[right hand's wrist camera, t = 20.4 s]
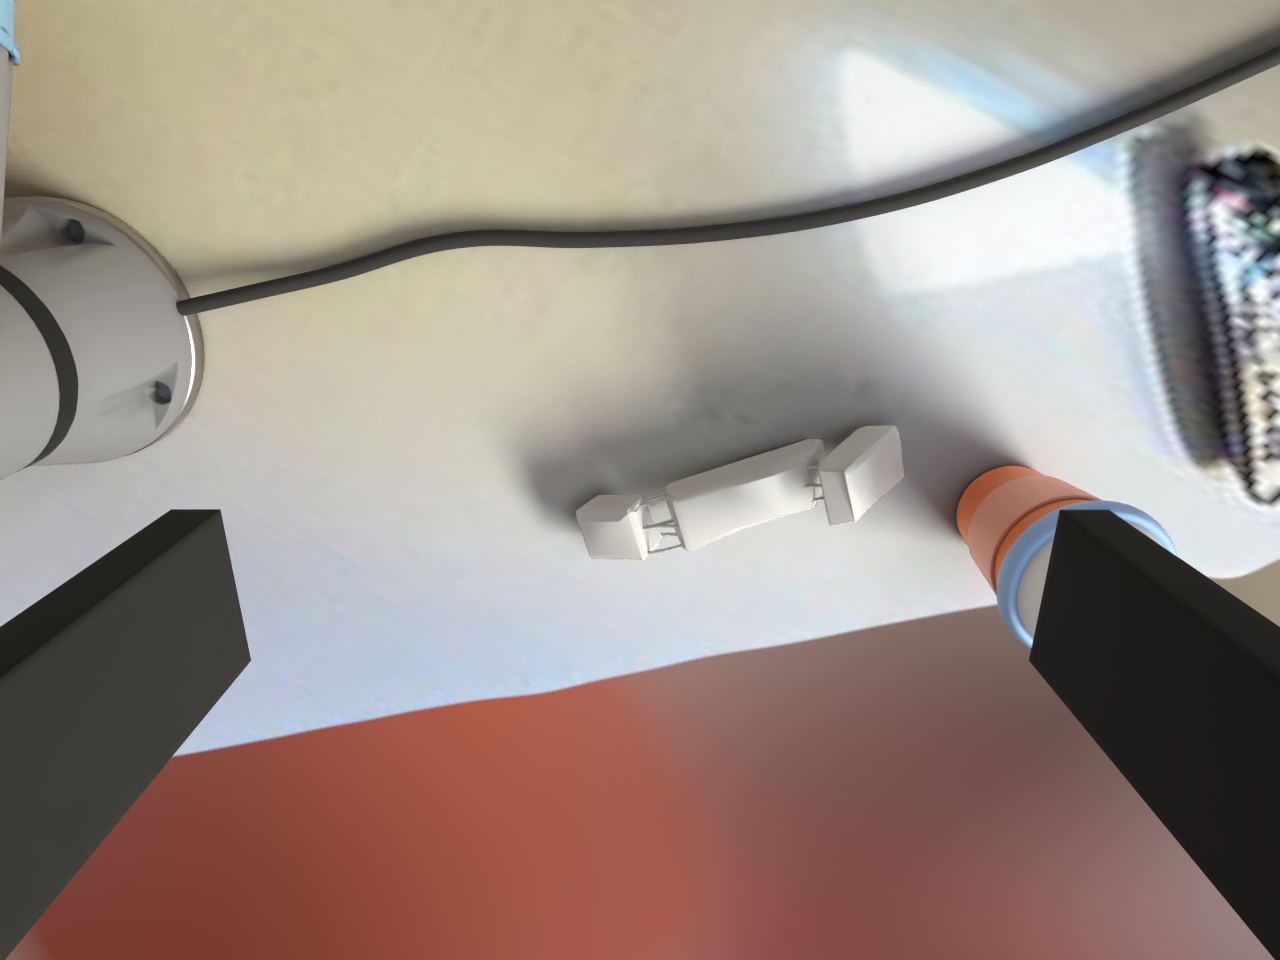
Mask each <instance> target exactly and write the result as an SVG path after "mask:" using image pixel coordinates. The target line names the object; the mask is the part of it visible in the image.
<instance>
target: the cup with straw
mask: <svg viewBox="0 0 1280 960" xmlns="http://www.w3.org/2000/svg"><path fill="white" fill-rule="evenodd" d="M1060 510H1110V511H1112V512H1113V513H1114V514H1116V515H1117V516H1119V517H1120V518H1122V519H1123V520H1125V521H1126V522H1128V523H1129V524H1130V525H1132V526H1133V527H1135V528H1136V529H1138V530H1139V531H1141V532H1142V533H1144V534H1145V535H1146V536H1148V537H1149V538H1151V539H1152V540H1154V541H1155V542H1157V543H1158V544H1160V545H1161V546H1162V547H1164V548H1165V549H1167V550H1168V551H1170V552H1171V553H1173V554H1174V555H1176V556H1177V557H1178V555H1177V551H1176V549H1175V546H1174V544H1173V542H1172V540H1171V538H1170V536H1169V535H1168V534H1167V532H1166V531H1165V529H1164V528H1163V527H1162V526H1161V525H1160V524H1159V523H1158V522H1157V521H1156V520H1155V519H1153V518H1152V517H1151V516H1149V515H1148V514H1146V513H1145V512H1143V511H1141V510H1139V509H1137V508H1135V507H1132V506H1129V505H1126V504H1123V503H1119V502H1113V501H1103V500H1101V499H1099V498H1097V497H1095V496H1093V495H1090V494H1088V493H1086V492H1084V491H1082V490H1080V489H1078V488H1076V487H1074V486H1072V485H1070V484H1068V483H1066V482H1064V481H1062V480H1059V479H1057V478H1053V477H1050V476H1045V475H1043V474H1040V473H1038V472H1036V471H1034V470H1032V469H1029V468H1026V467H1022V466H1003V467H998V468H995V469H992V470H990V471H988V472H986V473H984V474H982V475H980V476H979V477H978V478H976V479H975V480H974V481H973V482H972V483H971V484H970V485H969V486H968V487H967V489H966V490H965V491H964V493H963V495H962V497H961V499H960V501H959V504H958V508H957V524H958V528H959V531H960V533H961V535H962V537H963V539H964V540H965V542H966V543H967V545H968V546H969V550H970V553H971V556H972V558H973V560H974V561H975V563H976V564H977V566H978V568H979V569H980V571H981V572H982V574H983V575H984V577H985V578H986V580H987V582H988V583H989V585H990V586H991V588H992V589H993V591H994V592H995V594H996V595H997V603H998V607H999V610H1000V613H1001V616H1002V618H1003V620H1004V622H1005V623H1006V625H1007V627H1008V628H1009V630H1010V631H1011V632H1012V633H1013V634H1014V635H1015V636H1016V637H1017V638H1018V639H1019V640H1020V641H1021V642H1022V643H1024V644H1025V645H1026V646H1028V647H1029V648H1032V643H1033V639H1034V634H1035V629H1036V624H1037V619H1038V614H1039V609H1040V604H1041V599H1042V594H1043V589H1044V584H1045V579H1046V575H1047V570H1048V565H1049V560H1050V555H1051V550H1052V545H1053V540H1054V535H1055V530H1056V525H1057V520H1058V516H1059V511H1060Z"/></svg>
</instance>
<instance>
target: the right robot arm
mask: <svg viewBox="0 0 1280 960" xmlns="http://www.w3.org/2000/svg"><path fill="white" fill-rule="evenodd" d="M14 22H15V0H0V480H1V479H3V478H5V477H7V476H9V475H11V474H13V473H15V472H17V471H20V470H22V469H24V468H26V467H29V466H41V465H64V464H87V463H98V462H104V461H109V460H113V459H116V458H120V457H123V456H127V455H130V454H132V453H135V452H138V451H140V450H142V449H144V448H146V447H147V446H149V445H151V444H153V443H155V442H157V441H159V440H161V439H162V438H163V437H165V436H166V435H168V434H169V433H170V432H171V431H173V430H174V429H175V428H176V427H177V426H178V425H179V424H180V423H181V422H182V421H183V419H184V418H185V417H186V415H187V414H188V412H189V411H190V409H191V407H192V406H193V404H194V402H195V400H196V397H197V395H198V392H199V389H200V385H201V382H202V377H203V370H204V343H203V337H202V331H201V327H200V323H199V319H198V316H197V313H199V312H204V311H208V310H212V309H217V308H221V307H226V306H230V305H234V304H239V303H243V302H247V301H252V300H256V299H261V298H265V297H270V296H274V295H279V294H283V293H288V292H292V291H297V290H301V289H306V288H310V287H314V286H318V285H323V284H327V283H331V282H335V281H339V280H342V279H346V278H349V277H353V276H356V275H360V274H363V273H366V272H369V271H372V270H375V269H378V268H381V267H384V266H387V265H390V264H393V263H396V262H399V261H403V260H406V259H409V258H413V257H416V256H420V255H424V254H429V253H433V252H438V251H443V250H449V249H456V248H464V247H475V246H532V247H554V248H598V247H630V246H655V245H674V244H688V243H701V242H711V241H721V240H731V239H740V238H749V237H757V236H765V235H773V234H780V233H787V232H794V231H800V230H806V229H812V228H817V227H823V226H828V225H833V224H838V223H843V222H848V221H853V220H857V219H862V218H866V217H871V216H875V215H880V214H884V213H888V212H892V211H896V210H900V209H904V208H908V207H912V206H916V205H920V204H923V203H927V202H930V201H934V200H937V199H941V198H944V197H947V196H951V195H954V194H957V193H960V192H963V191H967V190H970V189H973V188H976V187H979V186H982V185H985V184H988V183H991V182H994V181H997V180H1000V179H1003V178H1006V177H1009V176H1012V175H1015V174H1018V173H1021V172H1024V171H1026V170H1029V169H1032V168H1035V167H1037V166H1040V165H1043V164H1046V163H1048V162H1051V161H1054V160H1056V159H1059V158H1061V157H1064V156H1067V155H1069V154H1072V153H1074V152H1077V151H1079V150H1082V149H1084V148H1087V147H1089V146H1091V145H1094V144H1096V143H1099V142H1101V141H1104V140H1106V139H1109V138H1111V137H1113V136H1116V135H1118V134H1121V133H1123V132H1125V131H1128V130H1130V129H1133V128H1135V127H1138V126H1140V125H1142V124H1145V123H1147V122H1150V121H1152V120H1154V119H1157V118H1159V117H1161V116H1164V115H1166V114H1168V113H1171V112H1173V111H1175V110H1178V109H1180V108H1182V107H1185V106H1187V105H1189V104H1191V103H1194V102H1196V101H1198V100H1200V99H1203V98H1205V97H1207V96H1209V95H1212V94H1214V93H1216V92H1218V91H1220V90H1223V89H1225V88H1227V87H1229V86H1232V85H1234V84H1236V83H1238V82H1240V81H1243V80H1245V79H1247V78H1249V77H1252V76H1254V75H1256V74H1258V73H1260V72H1263V71H1265V70H1267V69H1270V68H1272V67H1274V66H1276V65H1279V64H1280V47H1277V48H1275V49H1273V50H1270V51H1268V52H1266V53H1264V54H1261V55H1259V56H1257V57H1255V58H1253V59H1250V60H1248V61H1246V62H1244V63H1241V64H1239V65H1237V66H1235V67H1233V68H1230V69H1228V70H1226V71H1224V72H1222V73H1219V74H1217V75H1215V76H1213V77H1211V78H1208V79H1206V80H1204V81H1202V82H1200V83H1197V84H1195V85H1193V86H1191V87H1188V88H1186V89H1184V90H1182V91H1179V92H1177V93H1175V94H1173V95H1170V96H1168V97H1166V98H1163V99H1161V100H1159V101H1156V102H1154V103H1152V104H1149V105H1147V106H1145V107H1142V108H1140V109H1137V110H1135V111H1133V112H1130V113H1128V114H1125V115H1123V116H1121V117H1118V118H1116V119H1113V120H1111V121H1109V122H1106V123H1104V124H1101V125H1099V126H1096V127H1094V128H1092V129H1089V130H1087V131H1084V132H1082V133H1079V134H1077V135H1074V136H1072V137H1069V138H1067V139H1064V140H1062V141H1059V142H1057V143H1054V144H1052V145H1049V146H1046V147H1044V148H1041V149H1038V150H1036V151H1033V152H1030V153H1027V154H1025V155H1022V156H1019V157H1016V158H1013V159H1010V160H1008V161H1005V162H1002V163H999V164H996V165H993V166H990V167H987V168H984V169H981V170H978V171H975V172H972V173H969V174H965V175H962V176H959V177H956V178H953V179H950V180H946V181H943V182H940V183H936V184H933V185H930V186H926V187H922V188H919V189H915V190H911V191H908V192H904V193H900V194H896V195H892V196H888V197H884V198H879V199H875V200H871V201H866V202H862V203H857V204H853V205H848V206H843V207H839V208H834V209H829V210H824V211H818V212H813V213H807V214H801V215H795V216H789V217H782V218H775V219H767V220H759V221H751V222H743V223H734V224H724V225H715V226H704V227H693V228H680V229H663V230H641V231H611V232H543V231H522V230H479V231H466V232H458V233H450V234H444V235H438V236H433V237H428V238H423V239H419V240H415V241H412V242H408V243H404V244H401V245H398V246H395V247H392V248H388V249H385V250H382V251H379V252H376V253H373V254H370V255H367V256H364V257H361V258H358V259H355V260H352V261H348V262H345V263H342V264H338V265H334V266H331V267H327V268H323V269H319V270H314V271H310V272H306V273H302V274H297V275H293V276H288V277H284V278H279V279H274V280H270V281H265V282H261V283H256V284H252V285H248V286H243V287H239V288H234V289H230V290H226V291H221V292H217V293H213V294H208V295H204V296H199V297H195V298H190V296H189V294H188V292H187V290H186V289H185V287H184V285H183V283H182V281H181V280H180V278H179V277H178V275H177V274H176V272H175V271H174V270H173V268H172V267H171V266H170V264H169V263H168V262H167V261H166V259H165V258H164V257H163V256H162V255H161V254H160V253H159V252H158V251H157V250H156V249H155V247H154V246H152V245H151V244H150V243H149V242H148V241H147V240H146V239H145V238H144V237H143V236H141V235H140V234H139V233H137V232H136V231H135V230H133V229H132V228H131V227H129V226H128V225H126V224H125V223H123V222H122V221H120V220H119V219H117V218H115V217H113V216H111V215H109V214H108V213H106V212H103V211H101V210H99V209H97V208H94V207H92V206H89V205H86V204H83V203H80V202H77V201H72V200H68V199H64V198H57V197H46V196H20V197H7V198H4V188H5V174H6V159H7V145H8V130H9V116H10V101H11V87H12V72H13V65H16V66H18V65H19V64H20V57H21V55H20V49H19V47H18V45H17V44H16V42H15V41H14ZM250 661H251V658H250V653H249V648H248V643H247V639H246V634H245V629H244V624H243V619H242V614H241V609H240V604H239V599H238V594H237V589H236V584H235V579H234V575H233V570H232V565H231V560H230V555H229V550H228V545H227V540H226V535H225V530H224V525H223V520H222V516H221V511H220V510H170V511H168V512H167V513H166V514H164V515H163V516H161V517H160V518H158V519H157V520H155V521H154V522H152V523H151V524H150V525H148V526H147V527H145V528H144V529H142V530H141V531H139V532H138V533H136V534H135V535H134V536H132V537H131V538H129V539H128V540H126V541H125V542H123V543H122V544H120V545H119V546H118V547H116V548H115V549H113V550H112V551H110V552H109V553H107V554H106V555H104V556H103V557H102V558H100V559H99V560H97V561H96V562H94V563H93V564H91V565H90V566H88V567H87V568H86V569H84V570H83V571H81V572H80V573H78V574H77V575H75V576H74V577H72V578H71V579H70V580H68V581H67V582H65V583H64V584H62V585H61V586H59V587H58V588H56V589H55V590H54V591H52V592H51V593H49V594H48V595H46V596H45V597H43V598H42V599H40V600H39V601H38V602H36V603H35V604H33V605H32V606H30V607H29V608H27V609H26V610H24V611H23V612H22V613H20V614H19V615H17V616H16V617H14V618H13V619H11V620H10V621H8V622H7V623H5V624H4V625H3V626H1V627H0V960H5V959H6V958H7V957H8V955H9V954H10V953H11V952H12V950H13V949H14V948H15V947H16V946H17V944H18V943H19V942H20V941H21V940H22V938H23V937H24V936H25V935H26V933H27V932H28V931H29V930H30V929H31V927H32V926H33V925H34V924H35V922H36V921H37V920H38V919H39V918H40V916H41V915H42V914H43V913H44V912H45V910H46V909H47V908H48V907H49V905H50V904H51V903H52V902H53V901H54V899H55V898H56V897H57V896H58V895H59V893H60V892H61V891H62V890H63V888H64V887H65V886H66V885H67V884H68V882H69V881H70V880H71V879H72V877H73V876H74V875H75V874H76V873H77V871H78V870H79V869H80V868H81V867H82V865H83V864H84V863H85V862H86V860H87V859H88V858H89V857H90V856H91V854H92V853H93V852H94V851H95V850H96V848H97V847H98V846H99V845H100V843H101V842H102V841H103V840H104V839H105V837H106V836H107V835H108V834H109V833H110V831H111V830H112V829H113V828H114V826H115V825H116V824H117V823H118V822H119V820H120V819H121V818H122V817H123V815H124V814H125V813H126V812H127V811H128V809H129V808H130V807H131V806H132V805H133V803H134V802H135V801H136V800H137V798H138V797H139V796H140V795H141V794H142V792H143V791H144V790H145V789H146V788H147V786H148V785H149V784H150V783H151V781H152V780H153V779H154V778H155V777H156V775H157V774H158V773H159V772H160V770H161V769H162V768H163V767H164V766H165V764H166V763H167V762H168V761H169V760H170V758H171V757H172V756H173V755H174V753H175V752H176V751H177V750H178V749H179V747H180V746H181V745H182V744H183V743H184V741H185V740H186V739H187V738H188V736H189V735H190V734H191V733H192V732H193V730H194V729H195V728H196V727H197V726H198V724H199V723H200V722H201V721H202V719H203V718H204V717H205V716H206V715H207V713H208V712H209V711H210V710H211V708H212V707H213V706H214V705H215V704H216V702H217V701H218V700H219V699H220V698H221V696H222V695H223V694H224V693H225V691H226V690H227V689H228V688H229V687H230V685H231V684H232V683H233V682H234V681H235V679H236V678H237V677H238V676H239V674H240V673H241V672H242V671H243V670H244V668H245V667H246V666H247V665H248V663H249V662H250ZM1029 661H1030V662H1031V663H1032V665H1033V666H1034V667H1035V668H1036V670H1037V671H1038V672H1039V673H1040V674H1041V676H1042V677H1043V678H1044V679H1045V681H1046V682H1047V683H1048V684H1049V685H1050V687H1051V688H1052V689H1053V690H1054V691H1055V693H1056V694H1057V695H1058V696H1059V698H1060V699H1061V700H1062V701H1063V702H1064V704H1065V705H1066V706H1067V707H1068V708H1069V710H1070V711H1071V712H1072V713H1073V715H1074V716H1075V717H1076V718H1077V719H1078V721H1079V722H1080V723H1081V724H1082V726H1083V727H1084V728H1085V729H1086V730H1087V732H1088V733H1089V734H1090V735H1091V736H1092V738H1093V739H1094V740H1095V741H1096V743H1097V744H1098V745H1099V746H1100V747H1101V749H1102V750H1103V751H1104V752H1105V753H1106V755H1107V756H1108V757H1109V758H1110V759H1111V761H1112V762H1113V763H1114V764H1115V766H1116V767H1117V768H1118V769H1119V770H1120V772H1121V773H1122V774H1123V775H1124V777H1125V778H1126V779H1127V780H1128V781H1129V783H1130V784H1131V785H1132V786H1133V788H1134V789H1135V790H1136V791H1137V792H1138V794H1139V795H1140V796H1141V797H1142V798H1143V800H1144V801H1145V802H1146V803H1147V805H1148V806H1149V807H1150V808H1151V809H1152V811H1153V812H1154V813H1155V814H1156V815H1157V817H1158V818H1159V819H1160V820H1161V822H1162V823H1163V824H1164V825H1165V826H1166V828H1167V829H1168V830H1169V831H1170V832H1171V834H1172V835H1173V836H1174V837H1175V839H1176V840H1177V841H1178V842H1179V843H1180V845H1181V846H1182V847H1183V848H1184V850H1185V851H1186V852H1187V853H1188V854H1189V856H1190V857H1191V858H1192V859H1193V860H1194V862H1195V863H1196V864H1197V865H1198V867H1199V868H1200V869H1201V870H1202V871H1203V873H1204V874H1205V875H1206V876H1207V877H1208V879H1209V880H1210V881H1211V882H1212V884H1213V885H1214V886H1215V887H1216V888H1217V890H1218V891H1219V892H1220V893H1221V895H1222V896H1223V897H1224V898H1225V899H1226V901H1227V902H1228V903H1229V904H1230V905H1231V907H1232V908H1233V909H1234V910H1235V912H1236V913H1237V914H1238V915H1239V916H1240V918H1241V919H1242V920H1243V921H1244V922H1245V924H1246V925H1247V926H1248V927H1249V929H1250V930H1251V931H1252V932H1253V933H1254V935H1255V936H1256V937H1257V938H1258V939H1259V941H1260V942H1261V943H1262V944H1263V946H1264V947H1265V948H1266V949H1267V950H1268V952H1269V953H1270V954H1271V955H1272V957H1273V958H1274V959H1275V960H1280V627H1279V626H1277V625H1276V624H1274V623H1273V622H1272V621H1270V620H1269V619H1267V618H1266V617H1264V616H1263V615H1261V614H1260V613H1258V612H1257V611H1256V610H1254V609H1253V608H1251V607H1250V606H1248V605H1247V604H1245V603H1244V602H1242V601H1241V600H1240V599H1238V598H1237V597H1235V596H1234V595H1232V594H1231V593H1229V592H1228V591H1226V590H1225V589H1224V588H1222V587H1221V586H1219V585H1218V584H1216V583H1215V582H1213V581H1212V580H1210V579H1209V578H1208V577H1206V576H1205V575H1203V574H1202V573H1200V572H1199V571H1197V570H1196V569H1194V568H1193V567H1192V566H1190V565H1189V564H1187V563H1186V562H1184V561H1183V560H1181V559H1180V558H1178V557H1177V556H1176V555H1174V554H1173V553H1171V552H1170V551H1168V550H1167V549H1165V548H1164V547H1162V546H1161V545H1160V544H1158V543H1157V542H1155V541H1154V540H1152V539H1151V538H1149V537H1148V536H1146V535H1145V534H1144V533H1142V532H1141V531H1139V530H1138V529H1136V528H1135V527H1133V526H1132V525H1130V524H1129V523H1128V522H1126V521H1125V520H1123V519H1122V518H1120V517H1119V516H1117V515H1116V514H1114V513H1113V512H1112V511H1110V510H1060V511H1059V516H1058V520H1057V525H1056V530H1055V535H1054V540H1053V545H1052V550H1051V555H1050V560H1049V565H1048V570H1047V575H1046V579H1045V584H1044V589H1043V594H1042V599H1041V604H1040V609H1039V614H1038V619H1037V624H1036V629H1035V634H1034V639H1033V643H1032V648H1031V653H1030V658H1029Z"/></svg>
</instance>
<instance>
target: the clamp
mask: <svg viewBox="0 0 1280 960" xmlns="http://www.w3.org/2000/svg"><path fill="white" fill-rule="evenodd" d="M904 476H905V474H904V466H903V458H902V450H901V441H900V433H899V430H898V429H897V428H896V426H894V425H876V426H865V427H861V428H858V429H857V430H856V431H854V432H853V433H852V434H851V435H850V436H849V437H848V438H846V439H845V440H844V441H843V442H842V443H841V444H839V445H838V446H837V447H836V448H835V449H834V450H832V451H831V452H830V453H829V454H828V455H827V456H826V457H825V451H824V444H823V440H819V439H806V440H803V441H800V442H797V443H793V444H790V445H787V446H784V447H781V448H778V449H775V450H771V451H768V452H765V453H762V454H759V455H756V456H753V457H749V458H746V459H743V460H740V461H737V462H734V463H731V464H727V465H724V466H721V467H718V468H715V469H712V470H709V471H706V472H702V473H699V474H696V475H693V476H690V477H687V478H684V479H680V480H677V481H674V482H671V483H669V484H668V485H667V486H666V487H665V489H664V492H662V493H659V494H655V495H652V496H648V497H644V496H643V495H641V494H624V495H597V496H596V497H594V498H593V499H591V500H590V501H589V502H587V503H586V504H585V505H583V506H582V507H580V508H579V509H578V510H577V511H576V518H577V520H578V523H579V526H580V529H581V532H582V535H583V538H584V541H585V544H586V547H587V550H588V553H589V556H590V557H591V559H627V560H643V559H645V558H646V557H647V556H648V555H649V554H655V553H661V552H666V551H670V550H674V549H677V548H681V547H683V548H684V549H686V550H687V551H691V550H695V549H697V548H700V547H702V546H704V545H707V544H709V543H711V542H713V541H716V540H718V539H720V538H723V537H725V536H727V535H730V534H732V533H734V532H737V531H739V530H742V529H745V528H748V527H751V526H754V525H757V524H761V523H764V522H767V521H770V520H773V519H776V518H779V517H783V516H786V515H790V514H793V513H797V512H801V511H805V510H809V509H813V508H814V507H815V506H816V503H817V501H820V500H824V502H825V506H826V511H827V515H828V520H829V524H830V526H833V525H839V524H846V523H852V522H857V520H858V519H859V518H860V517H861V516H862V515H863V514H864V513H865V512H866V511H867V510H868V509H869V508H870V507H871V506H872V505H873V504H874V503H875V502H876V501H878V500H879V499H880V498H881V497H882V496H883V495H885V494H886V493H887V492H888V491H889V490H890V489H892V488H893V487H894V486H895V485H896V484H897V483H899V482H900V481H901V480H902V479H903V478H904ZM822 493H823V497H820V496H821V494H822ZM663 495H665V497H664V498H661V499H659V500H656V501H654V502H649V503H646V501H645V500H649V499H653V498H656V497H659V496H663ZM664 500H667V504H668V507H669V511H670V514H671V517H672V519H671V520H668V521H665V522H661V523H658V524H655V523H654V521H653V520H652V517H651V515H650V512H649V509H648V506H651V505H654V504H657V503H659V502H662V501H664ZM672 522H673V524H674V525H665V524H669V523H672ZM658 528H675V531H676V533H661V532H660V530H659V529H658ZM663 536H678V538H679V540H680V542H681V544H680V545H676V546H673V547H669V548H665V549H660V550H654V549H655V548H656V547H657V546H658V545H659V543H660V541H661V539H662V537H663ZM653 550H654V551H653Z"/></svg>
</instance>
